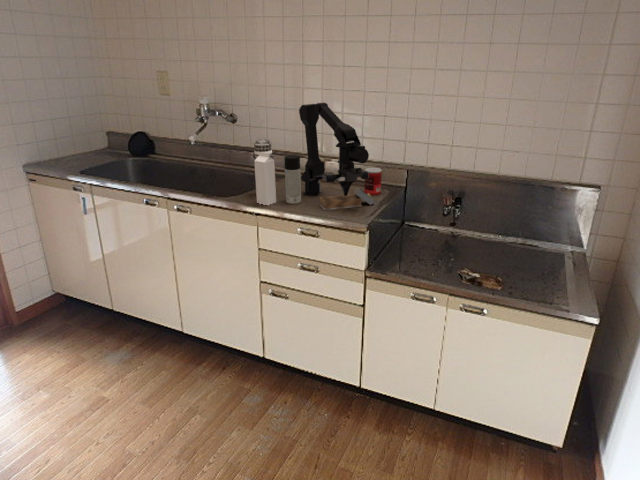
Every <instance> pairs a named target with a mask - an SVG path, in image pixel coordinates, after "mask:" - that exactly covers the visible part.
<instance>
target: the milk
mask: <svg viewBox="0 0 640 480" xmlns="http://www.w3.org/2000/svg"><path fill="white" fill-rule="evenodd" d="M272 158H273V157H272ZM272 158H270V157H269V153H263V152H259V156H258V157H257V158H256V159H255V158H254V159H255V160H254V159H253V164H254V163H255V166H254V168H255V169H254V176H255V177H254V178H255V180H256V182H255V193H256V194H257V195H256V204H257V203H259V204H258V205H261V204H263V205H262V206H265V205H268V206H270V204H271V205H274V204H276V203H277V192H276V190H277V189H276V168H275V158H273V159H272ZM273 203H274V204H273Z"/></svg>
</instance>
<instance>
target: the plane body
mask: <svg viewBox="0 0 640 480" xmlns="http://www.w3.org/2000/svg"><path fill="white" fill-rule="evenodd" d="M318 203H319V204H318V205H319V206H320V208H322V210H324V211H329V210H340V209H341V210H342V209H349V208H359V207H363V205H362V199H361V198H360V197H359V196H357V195H356V194H355V193H348V194H347V196H344V194H340V195H339V194H338V195H337V194H336V195H328V196H319V202H318Z"/></svg>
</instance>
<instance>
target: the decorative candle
mask: <svg viewBox="0 0 640 480" xmlns="http://www.w3.org/2000/svg"><path fill="white" fill-rule="evenodd" d="M253 145H254V147H253V148H254V150H253V151H254V152H252V154H253V155H252V158H253V161H254V160H255V159H256V158H257V157H258V156H259V152H263V153H269V157H270V158H272V159H274V157H275V156H274V155H273V150H272V145H273V144H272V141H270V140H269V139H267V138H259V139H258V138H257V139H256V140H255V142H254V143H253ZM253 166H254V170H255V163H254V162H253ZM254 182H255V183H256V179H255V181H254ZM256 196H257V194H256Z"/></svg>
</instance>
